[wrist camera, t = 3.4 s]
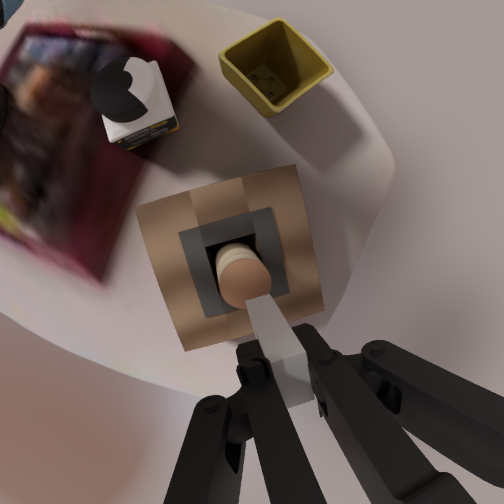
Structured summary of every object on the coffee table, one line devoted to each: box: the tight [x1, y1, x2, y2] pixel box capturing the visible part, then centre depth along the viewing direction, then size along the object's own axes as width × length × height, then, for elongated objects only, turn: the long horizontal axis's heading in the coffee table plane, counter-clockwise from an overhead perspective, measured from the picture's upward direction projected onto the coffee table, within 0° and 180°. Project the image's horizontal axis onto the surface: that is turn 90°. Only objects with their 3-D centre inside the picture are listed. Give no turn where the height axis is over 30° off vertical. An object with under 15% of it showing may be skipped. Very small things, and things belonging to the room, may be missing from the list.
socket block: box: [134, 164, 324, 352], centre depth 32 cm, size 16×16×8 cm
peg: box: [215, 240, 271, 309], centre depth 26 cm, size 4×4×8 cm
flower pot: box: [218, 17, 334, 117], centre depth 28 cm, size 9×9×9 cm
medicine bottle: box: [90, 57, 179, 150], centre depth 25 cm, size 7×7×12 cm
